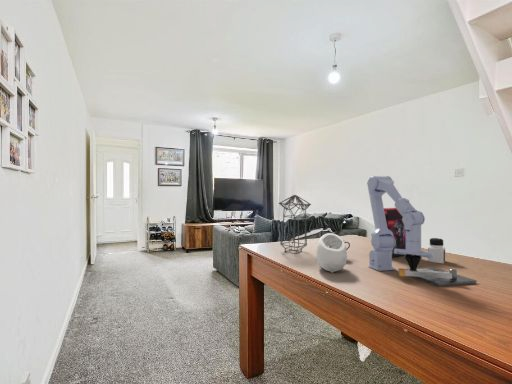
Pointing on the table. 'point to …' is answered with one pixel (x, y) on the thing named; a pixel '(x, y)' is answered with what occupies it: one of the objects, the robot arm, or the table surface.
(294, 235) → the geometric lantern
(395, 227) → the graphics card box
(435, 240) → the medicine bottle
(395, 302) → the table surface
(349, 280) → the table surface
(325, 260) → the skull planter
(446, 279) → the panel
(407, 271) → the cable arm
